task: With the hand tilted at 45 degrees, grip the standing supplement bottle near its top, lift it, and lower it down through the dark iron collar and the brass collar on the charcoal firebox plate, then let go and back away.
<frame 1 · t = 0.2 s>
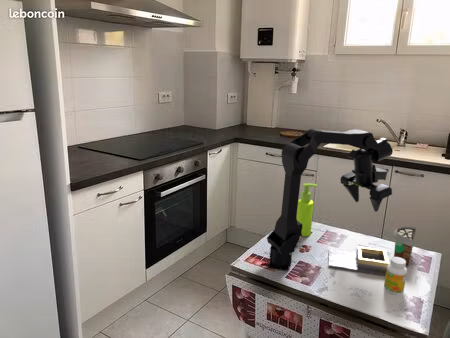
hand: (366, 206, 132), 15 cm above the table, tool pointing down, fingers open, 9 cm apart
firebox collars: (371, 264, 124), on the table
supplement bottle: (393, 290, 111), on the table
soap dispenser: (304, 233, 146), on the table
food container: (399, 258, 129), on the table
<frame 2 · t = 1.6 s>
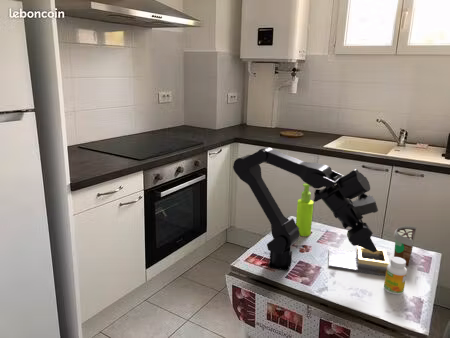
hand: (371, 243, 110), 14 cm above the table, tool tilted 40°, fingers open, 9 cm apart
nothing on the table moved.
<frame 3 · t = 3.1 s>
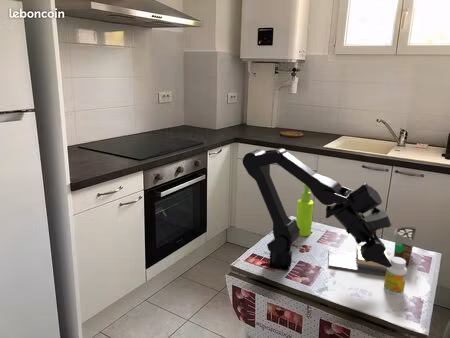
hand: (386, 258, 109), 10 cm above the table, tool tilted 45°, fingers open, 9 cm apart
nothing on the table moved.
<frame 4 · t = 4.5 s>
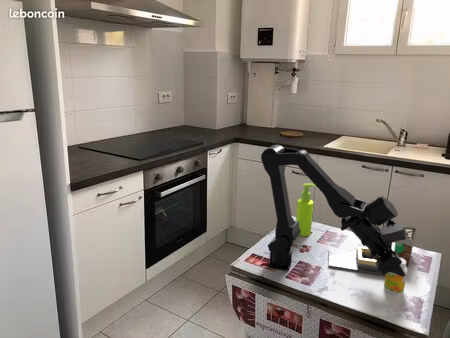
hand: (401, 270, 109), 7 cm above the table, tool tilted 45°, fingers closed on supplement bottle, 5 cm apart
supplement bottle: (393, 289, 111), on the table, touching gripper
everything else where it was.
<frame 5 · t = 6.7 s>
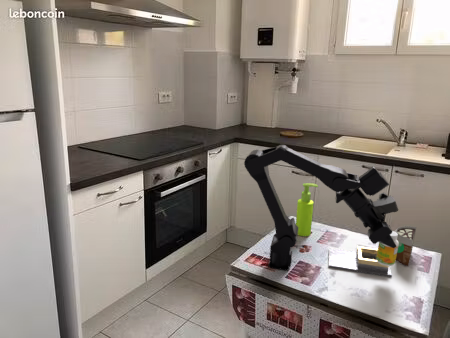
hand: (393, 242, 113), 13 cm above the table, tool tilted 45°, fingers closed on supplement bottle, 5 cm apart
supplement bottle: (385, 262, 115), point 6 cm above the table, touching gripper
everything else where it was.
when the fingers open (9 cm above the table, at t = 8.8 s): supplement bottle drops 1 cm, resting on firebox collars.
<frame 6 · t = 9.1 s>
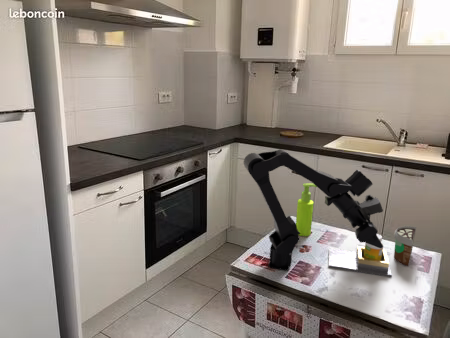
hand: (379, 240, 122), 9 cm above the table, tool tilted 45°, fingers open, 9 cm apart
supplement bottle: (371, 263, 124), point 1 cm above the table, touching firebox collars
everything else where it was.
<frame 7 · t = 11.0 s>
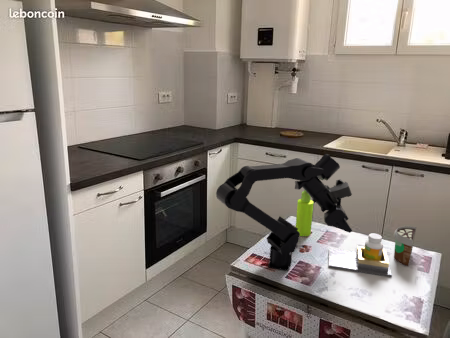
hand: (349, 225, 122), 13 cm above the table, tool tilted 45°, fingers open, 9 cm apart
nothing on the table moved.
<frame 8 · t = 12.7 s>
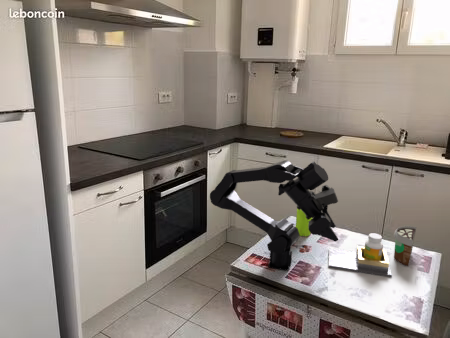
hand: (335, 233, 116), 14 cm above the table, tool tilted 45°, fingers open, 9 cm apart
nothing on the table moved.
at the end: supplement bottle 0.2 cm off-centre on the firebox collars, point 0.6 cm above the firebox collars's base; supplement bottle tilted 0°; the gripper is holding nothing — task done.
